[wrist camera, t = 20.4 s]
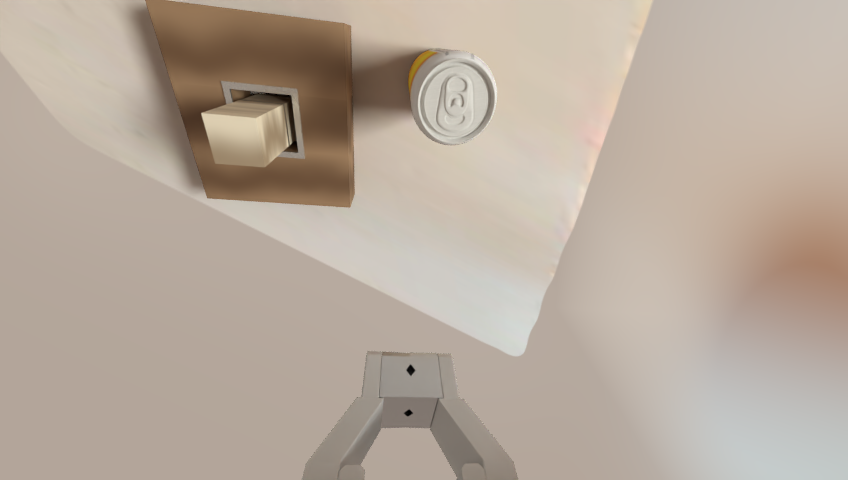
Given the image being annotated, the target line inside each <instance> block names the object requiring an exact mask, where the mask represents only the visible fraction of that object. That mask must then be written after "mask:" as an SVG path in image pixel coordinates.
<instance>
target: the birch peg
mask: <svg viewBox="0 0 848 480" xmlns="http://www.w3.org/2000/svg"><path fill="white" fill-rule="evenodd" d="M201 114H202V118H203V122H204V125H205V129H206V132H207V136H208V139H209V143H210V147H211V150H212V154H213V157H214V161H215V164H228V165H241V166H254V167H266V166H267V165H268V164H269V163H270V162H272V161H273V160H274V159H275V158H276V157H277V156H278V155H279V154H281V153H282V152H283V151H284V150H285V149H286V148H287V147H288V146H290V145H291V144H292V143H293V142H294V141H295V140H296V139H297V138H296V130H295V122H294V113H293V105H292V97H286V96H277V95H267V94H256V95H253V96H250V97H247V98H244V99H240V100H238V101H235V102H232V103H229V104H226V105H223V106H220V107H218V108H215V109H212V110H209V111H206V112H203V113H201Z"/></svg>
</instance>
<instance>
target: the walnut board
mask: <svg viewBox="0 0 848 480" xmlns="http://www.w3.org/2000/svg"><path fill="white" fill-rule="evenodd" d="M145 1H146V4H147V7H148V11H149V14H150V17H151V20H152V23H153V26H154V30H155V33H156V36H157V39H158V42H159V46H160V49H161V52H162V55H163V58H164V62H165V65H166V68H167V71H168V74H169V78H170V81H171V84H172V87H173V90H174V93H175V97H176V100H177V103H178V106H179V109H180V113H181V116H182V119H183V122H184V125H185V129H186V132H187V135H188V138H189V141H190V144H191V148H192V151H193V154H194V157H195V160H196V164H197V167H198V170H199V173H200V176H201V180H202V183H203V186H204V189H205V192H206V196H207V198H212V199H227V200H243V201H258V202H273V203H289V204H304V205H319V206H335V207H350V206H351V203H352V200H353V197H354V194H355V189H354V145H353V100H352V56H351V26H350V25H347V24H344V23H337V22H329V21H321V20H314V19H306V18H298V17H291V16H283V15H275V14H267V13H260V12H252V11H244V10H237V9H229V8H221V7H213V6H206V5H198V4H190V3H183V2H175V1H167V0H145ZM250 91H256V92H265V93H275V94H285V95H291V97H292V105H293V113H294V122H295V130H296V138H297V141H294V142H293V143H292V144H291V145H290V146H288V147H287V148H286V149H285V150H284V151H283V152H282V153H281V154H279V155H278V156H277V157H276V158H275V159H274V160H273V161H272V162H270V163H269V164H268V165H267V166H266V167H254V166H241V165H228V164H215V161H214V157H213V154H212V150H211V147H210V143H209V139H208V136H207V132H206V129H205V125H204V122H203V118H202V114H201V113H203V112H206V111H209V110H212V109H215V108H218V107H220V106H223V105H226V104H229V103H232V102H235V101H238V100H240V99H244V98H247V97H250V96H251V94H250Z"/></svg>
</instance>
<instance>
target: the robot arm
mask: <svg viewBox="0 0 848 480" xmlns="http://www.w3.org/2000/svg"><path fill="white" fill-rule="evenodd" d="M381 359H382V360H381ZM399 427H409V428H430V430H431V432H432V434H433V435H434V437H435V439H436V441H437V442H438V444H439V446H440V448H441V449H442V451H443V453H444V455H445V457H446V458H447V460H448V462H449V464H450V466H451V467H452V469H453V471H454V472H455V474H456V476H457V480H518V477H517V473H516V470H515V466H514V462H513V461H512V459H511V458H510V457H509V456H508V454H507V453H506V452H505V451H504V450H503V448H502V447H501V445H500V444H499V443H498V442H497V440H496V439H495V438H494V437H493V435H492V434H491V433H490V432H489V430H488V429H487V428H486V427H485V425H484V424H483V423H482V421H481V420H480V419H479V418H478V416H477V415H476V414H475V413H474V411H473V410H472V409H471V408H470V406H469V405H468V404H467V403H466V401H465V400H464V399H459V393H458V386H457V381H456V375H455V368H454V363H453V357H452V355H451V354H437V353H398V352H381V351H380V352H378V351H368V352H367V355H366V364H365V372H364V380H363V389H362V397H357V398H356V399H355V401H354V402H353V403H352V405H351V406H350V407H349V409H348V410H347V411H346V412H345V414H344V415H343V416H342V418H341V419H340V420H339V422H338V423H337V424H336V425H335V427H334V428H333V429H332V430H331V432H330V433H329V434H328V436H327V437H326V438H325V440H324V441H323V442H322V444H321V445H320V446H319V447H318V449H317V450H316V452H314V454H313V455H312V456H311V458H310V459H309V460H308V462H307V463H306V466H305V470H304V474H303V478H302V480H364V474H365V470H364V469H363V467H362V466H361V465H360V464H361V463H362V461H363V459H364V458H365V456H366V454H367V452H368V451H369V449H370V447H371V446H372V444H373V442H374V440H375V439H376V437H377V435H378V433H379V432H380V430H381V428H399Z"/></svg>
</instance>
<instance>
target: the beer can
mask: <svg viewBox="0 0 848 480" xmlns="http://www.w3.org/2000/svg"><path fill="white" fill-rule="evenodd" d="M408 87H409V94H410V101H411V108H412V113H413V117H414V119H415V122H416V124H417V125H418V127H419V128H420V130H421V131H422V132H423V133H424V134H425V135H426V136H427V137H428V138H430V139H431V140H433V141H435V142H437V143H440V144H444V145H458V144H462V143H466V142H468V141H470V140H472V139H474V138H475V137H476V136H478V135H479V134H480V133H481V132H482V131H483V130H484V129H485V128H486V126H487V125H488V124H489V122H490V120H491V118H492V116H493V114H494V111H495V107H496V102H497V88H496V82H495V79H494V76H493V74H492V72H491V70H490V69H489V67H488V66H487V65H486V63H485V62H484V61H483V60H481V59H480V58H479V57H477V56H476V55H474V54H472V53H469V52H465V51H458V50H448V49H430V50H427V51H425V52H424V53H422V54H421V55H420V56H418V57H417V59H416V60H415V61H414V63H413V64H412V66H411V69H410V72H409V76H408Z"/></svg>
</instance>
